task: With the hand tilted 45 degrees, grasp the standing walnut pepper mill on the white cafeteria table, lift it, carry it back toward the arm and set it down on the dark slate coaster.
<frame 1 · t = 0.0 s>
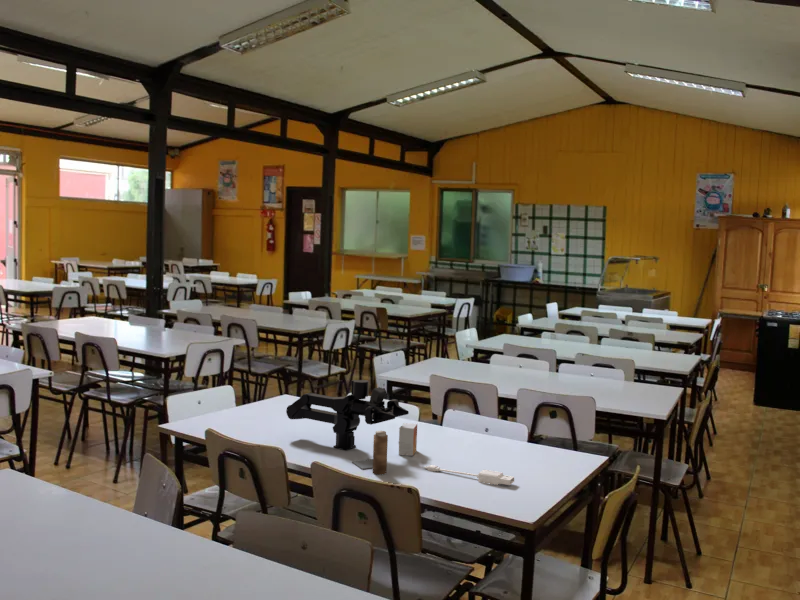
hand: (401, 414, 265), 17 cm above the table, tool horizontal, fingers open, 9 cm apart
pepper mill: (379, 472, 250), on the table
coaster: (368, 464, 259), on the table
small box: (407, 453, 275), on the table
charging cable: (468, 479, 248), on the table
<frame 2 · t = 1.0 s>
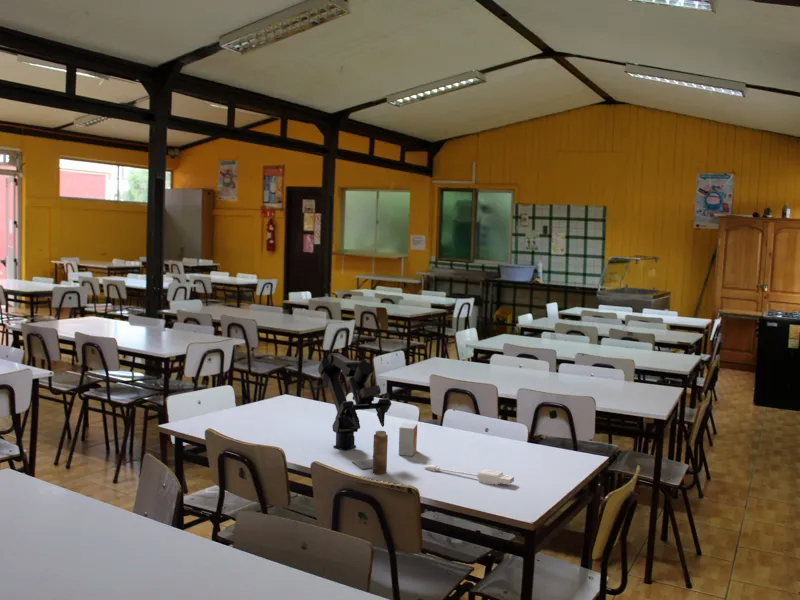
hand: (371, 427, 257), 14 cm above the table, tool tilted 45°, fingers open, 9 cm apart
nothing on the table moved.
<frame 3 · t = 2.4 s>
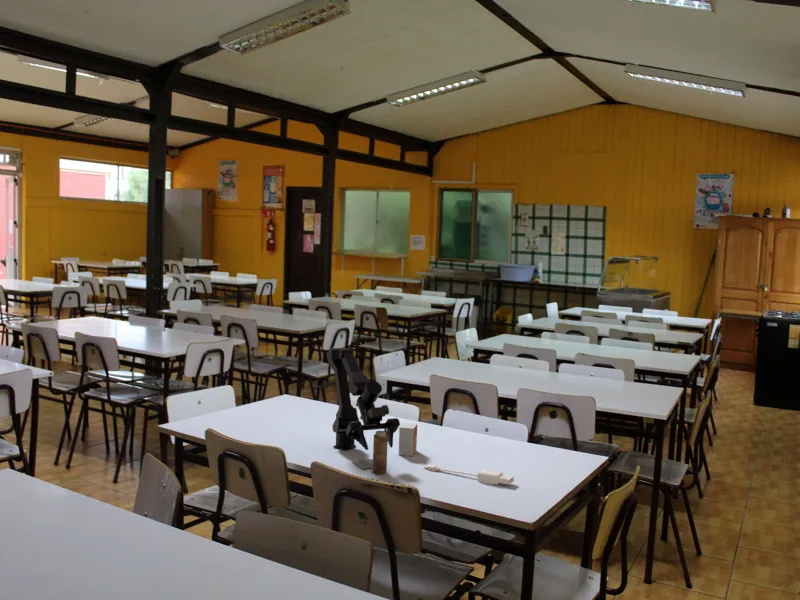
hand: (379, 448, 250), 8 cm above the table, tool tilted 45°, fingers open, 9 cm apart
nothing on the table moved.
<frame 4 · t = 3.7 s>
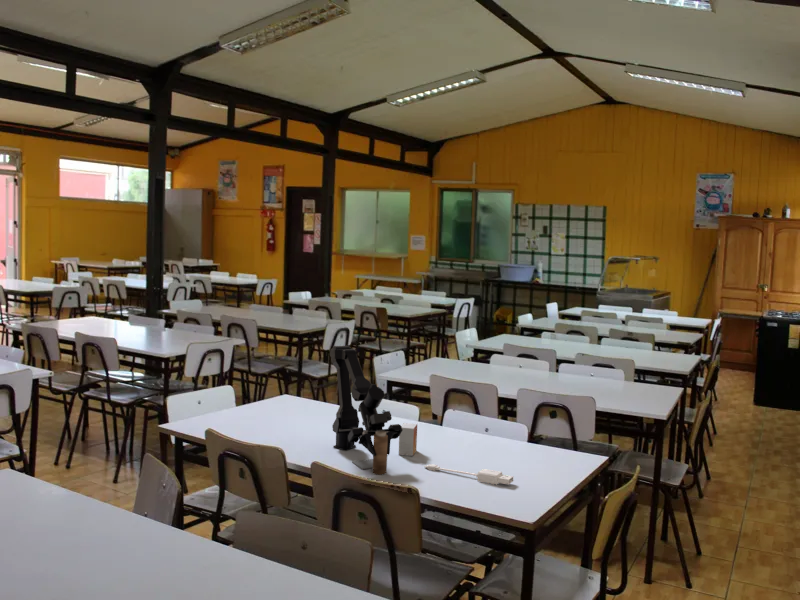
hand: (381, 454, 248), 7 cm above the table, tool tilted 45°, fingers closed on pepper mill, 5 cm apart
pepper mill: (379, 472, 250), on the table, touching gripper
everything else where it was.
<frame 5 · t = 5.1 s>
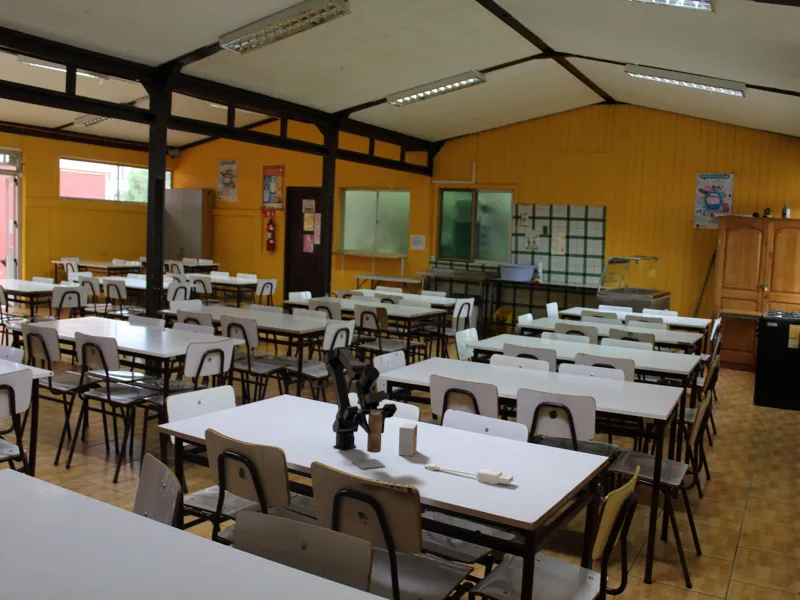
hand: (376, 433, 252), 13 cm above the table, tool tilted 45°, fingers closed on pepper mill, 5 cm apart
pepper mill: (373, 450, 254), point 6 cm above the table, touching gripper
everything else where it was.
when the fingers open (8 cm above the table, at t = 6.7 s): pepper mill drops 1 cm, resting on coaster.
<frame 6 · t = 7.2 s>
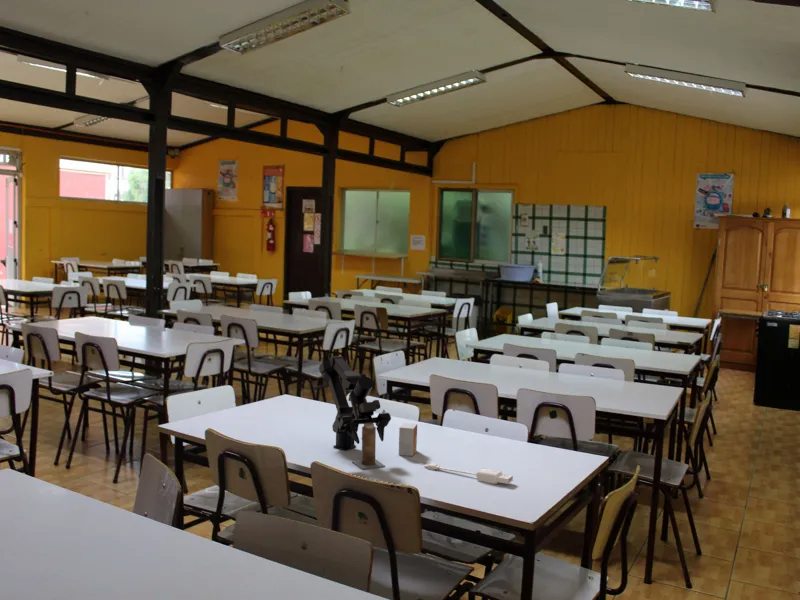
hand: (370, 442, 257), 9 cm above the table, tool tilted 45°, fingers open, 9 cm apart
pepper mill: (368, 463, 259), resting on coaster
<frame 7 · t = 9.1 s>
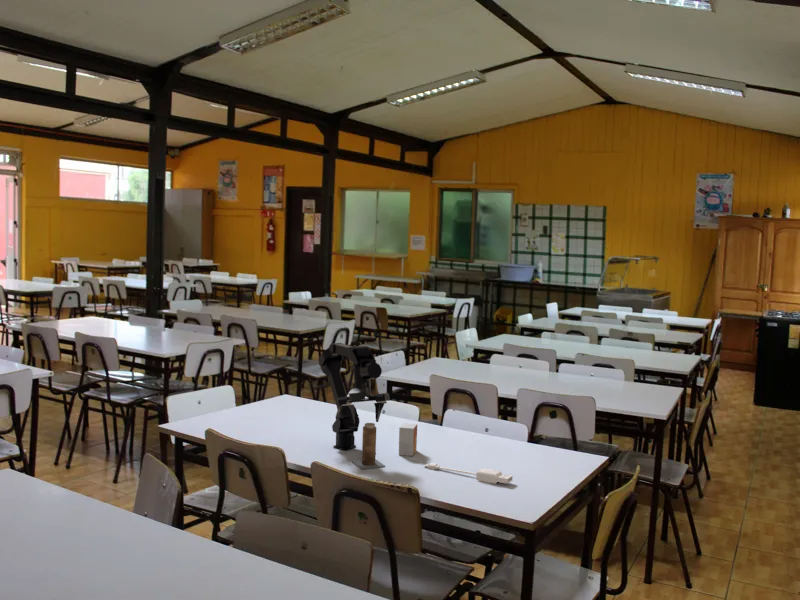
hand: (365, 422, 265), 13 cm above the table, tool pointing down, fingers open, 9 cm apart
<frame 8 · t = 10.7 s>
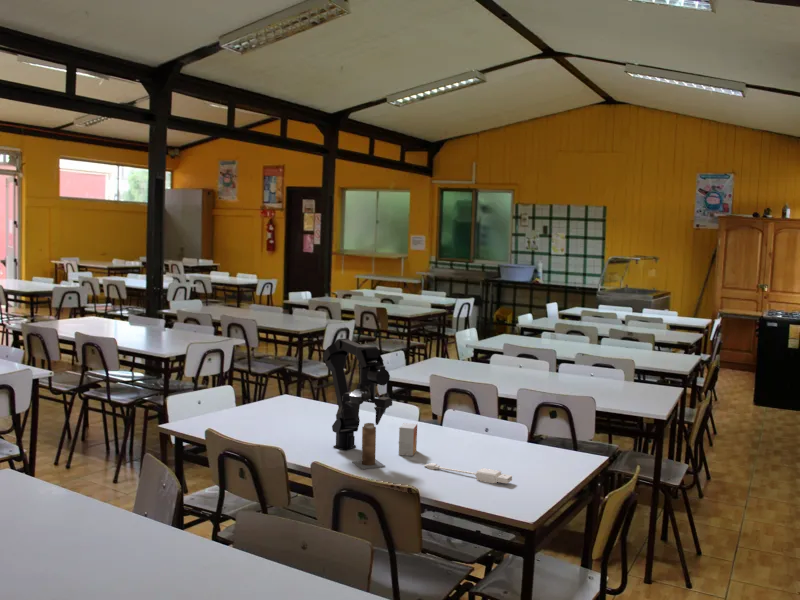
hand: (366, 422, 266), 13 cm above the table, tool pointing down, fingers open, 9 cm apart
at the end: pepper mill inside the target area on the coaster (0.1 cm from its centre), point 0.4 cm above the coaster's base; pepper mill tilted 1°; the gripper is holding nothing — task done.
